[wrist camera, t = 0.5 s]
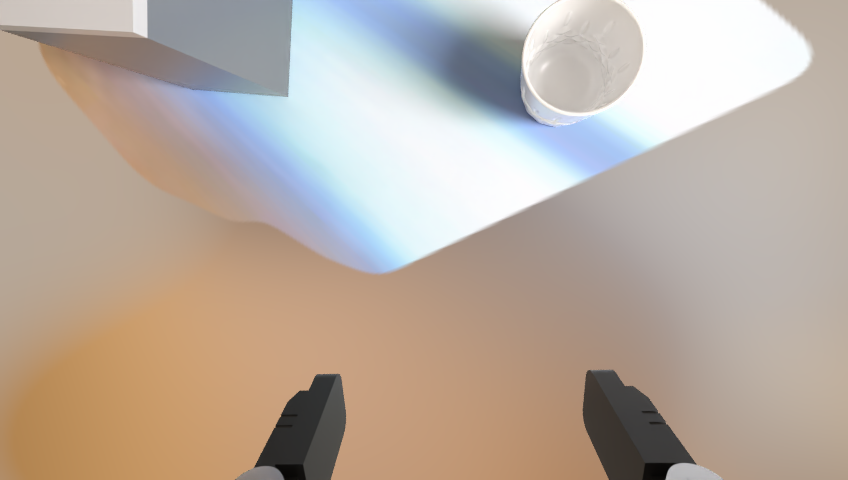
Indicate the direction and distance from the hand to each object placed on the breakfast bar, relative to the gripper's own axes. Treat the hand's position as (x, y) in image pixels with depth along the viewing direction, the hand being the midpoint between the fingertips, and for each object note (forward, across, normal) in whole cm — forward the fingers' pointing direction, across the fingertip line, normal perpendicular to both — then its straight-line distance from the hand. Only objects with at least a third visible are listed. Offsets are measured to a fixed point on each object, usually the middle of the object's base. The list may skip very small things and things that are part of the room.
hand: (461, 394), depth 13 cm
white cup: (+29, -11, -10) cm, 32 cm away
